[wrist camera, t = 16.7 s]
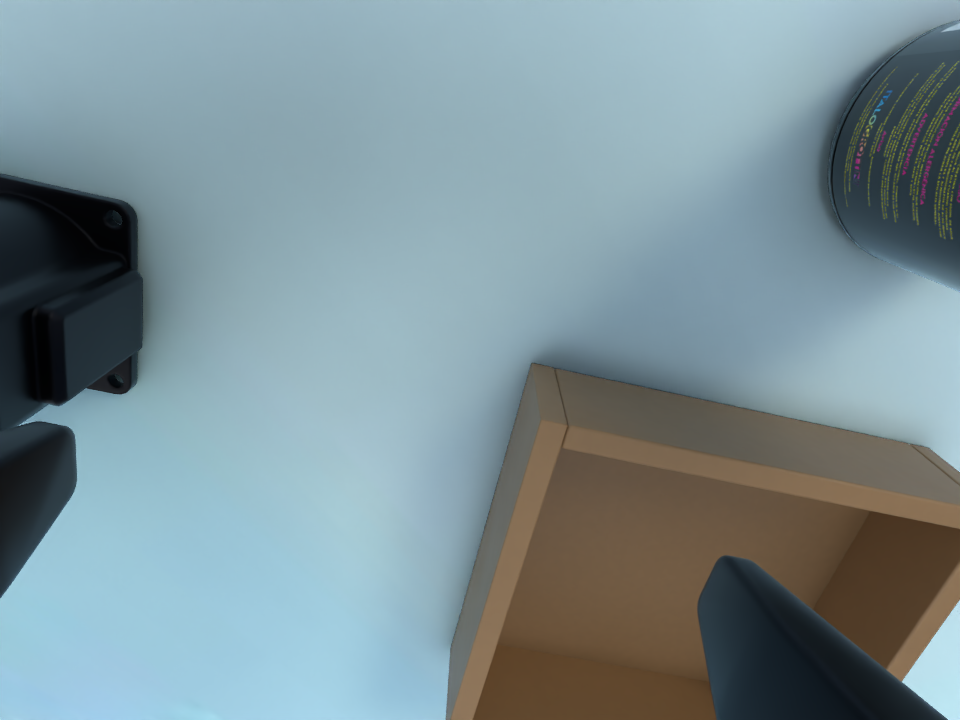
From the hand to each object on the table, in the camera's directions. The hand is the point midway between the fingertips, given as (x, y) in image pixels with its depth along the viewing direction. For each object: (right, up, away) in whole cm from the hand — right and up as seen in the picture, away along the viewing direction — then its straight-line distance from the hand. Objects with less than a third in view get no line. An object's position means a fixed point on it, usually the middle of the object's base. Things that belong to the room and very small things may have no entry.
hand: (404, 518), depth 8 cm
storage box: (+8, -5, +15) cm, 18 cm away
